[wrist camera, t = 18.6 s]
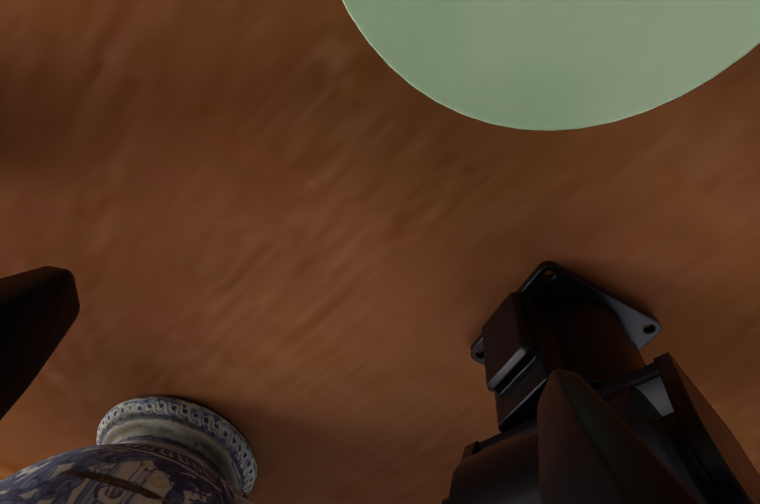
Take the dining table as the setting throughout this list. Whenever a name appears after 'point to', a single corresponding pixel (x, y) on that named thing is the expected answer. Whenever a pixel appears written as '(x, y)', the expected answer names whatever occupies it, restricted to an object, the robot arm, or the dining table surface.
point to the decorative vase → (145, 461)
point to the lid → (557, 53)
